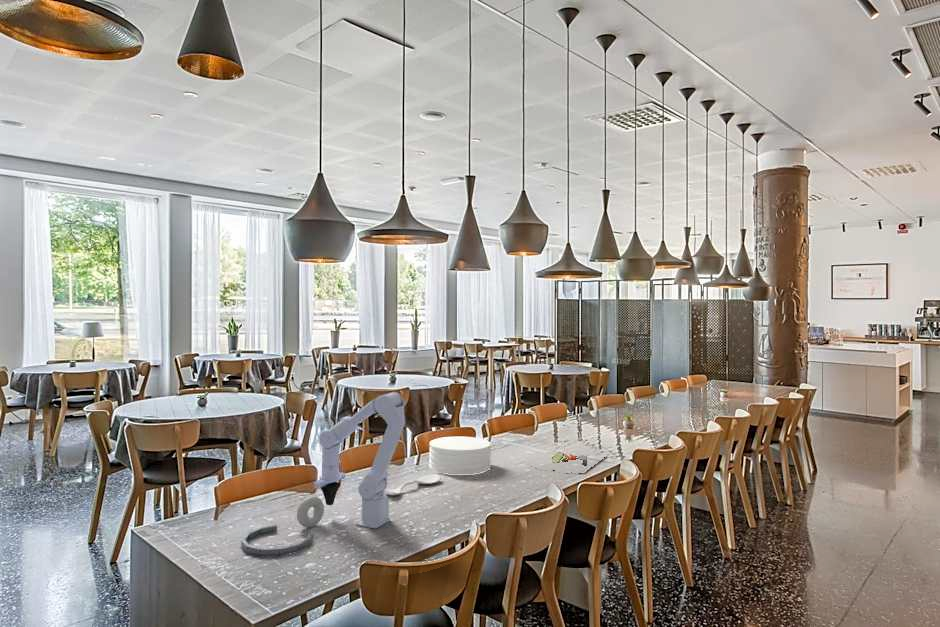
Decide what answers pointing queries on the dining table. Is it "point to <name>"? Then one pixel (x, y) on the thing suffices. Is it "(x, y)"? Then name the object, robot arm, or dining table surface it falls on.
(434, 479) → the spoon
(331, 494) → the robot arm
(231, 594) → the dining table surface
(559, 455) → the green red elongated piece
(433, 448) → the plate stack
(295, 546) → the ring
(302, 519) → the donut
